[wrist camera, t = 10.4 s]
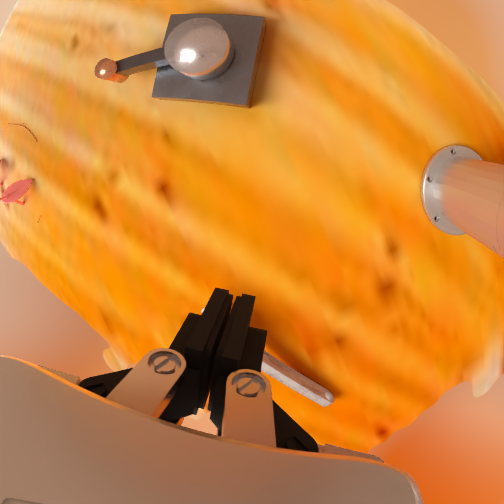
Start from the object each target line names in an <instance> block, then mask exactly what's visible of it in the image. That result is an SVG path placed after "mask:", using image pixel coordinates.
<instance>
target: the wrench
mask: <svg viewBox="0 0 504 504" xmlns="http://www.w3.org/2000/svg"><path fill="white" fill-rule="evenodd" d="M204 309H205V308H204ZM204 309H202V313H203V311H204ZM261 370H262V371H263V372H265V373H266V374H268V375H270V376H271V377H273V378H275V379H276V380H278V381H280V382H281V383H283V384H285V385H286V386H288V387H290V388H292V389H293V390H295V391H297V392H298V393H300V394H302V395H304V396H306V397H307V398H309V399H311V400H313V401H315V402H316V403H318V404H320V405H322V406H324V407H326V406H328V405H330V404H332V403H333V402H334V396H333V394H332V393H331V392H330V391H328V390H327V389H326V388H324V387H322V386H321V385H319V384H317V383H315V382H314V381H312V380H310V379H309V378H307V377H305V376H304V375H302V374H301V373H299V372H297V371H296V370H294V369H293V368H291V367H289V366H288V365H286V364H285V363H283V362H281V361H280V360H278V359H277V358H275V357H274V356H272V355H270V354H269V353H267V352H266V351H265V350H264V354H263V360H262V367H261Z"/></svg>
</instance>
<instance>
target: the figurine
mask: <svg viewBox="0 0 504 504" xmlns="http://www.w3.org/2000/svg"><path fill="white" fill-rule="evenodd" d="M23 124H24V123H23ZM10 126H11V125H10ZM21 126H22V125H21ZM8 127H9V126H8ZM6 128H7V127H6ZM6 128H5V129H6ZM25 128H26V127H25ZM29 131H30V130H29ZM32 135H33V134H32ZM33 136H34V135H33ZM34 138H35V137H34ZM35 140H36V139H35ZM36 141H37V140H36ZM0 162H1V160H0ZM32 181H33V180H32V179H27V180H20V181H17V182H15V183H13V184H12V185H10V186H9V187H8V188H7V189H6V190H5V192H4V193H3V194H2V198H0V200H2V202H3V203H6V204H7V203H11V202H15V203H18V204H21V205H24V203H23V202H21V201H18V199H19V198H21V197H22V196H23V195H24V194H25V193H26V192H27V190H28V187H30V186H29V185H30V184H31V183H32ZM0 186H2V184H1V183H0ZM40 217H41V216H40ZM39 219H40V218H39ZM38 222H39V221H38Z"/></svg>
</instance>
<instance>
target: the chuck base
mask: <svg viewBox="0 0 504 504" xmlns="http://www.w3.org/2000/svg"><path fill="white" fill-rule="evenodd" d="M193 18H209V19H212V20H214V21H216V22H218V23H219V24H220V25H221V26H222V27H223V28H224V30H225V32H226V33H227V35H228V36H229V38H230V39H231V41H232V43H233V46H234V56H233V59H232V61H231V63H230V65H229V66H228V68H227V69H226V70H225V71H224V72H222V73H221V74H220V75H218V76H216V77H214V78H211V79H206V80H197V79H192V78H190V77H188V76H186V75H184V74H183V73H181V72H179V71H177V70H176V69H174V68H173V67H171V66H170V64H169V65H165V66H161V67H158V68H157V73H156V78H155V83H154V88H153V93H152V97H153V98H157V99H161V100H176V101H190V102H201V103H211V104H220V105H228V106H236V107H243V108H250V103H251V98H252V93H253V88H254V83H255V78H256V73H257V68H258V63H259V58H260V53H261V48H262V44H263V39H264V34H265V29H266V23H265V19H264V17H257V16H246V15H230V14H174V15H171V16H170V20H169V23H168V27H167V31H166V35H165V38H164V42H163V47H165V43H166V40H167V38H168V36H169V34H170V33H171V32H172V30H173V29H174V28H175V27H177V26H178V25H179V24H181V23H183V22H185V21H187V20H189V19H193ZM163 47H162V48H163Z"/></svg>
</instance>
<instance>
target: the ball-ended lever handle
mask: <svg viewBox="0 0 504 504" xmlns="http://www.w3.org/2000/svg"><path fill="white" fill-rule="evenodd" d="M233 56H234V46H233V43H232V41H231V39H230V38H229V36H228V35H227V33H226V32H225V30H224V28H223V27H222V26H221V25H220V24H219V23H218V22H216V21H214V20H212V19H209V18H193V19H189V20H187V21H185V22H183V23H181V24H179V25H178V26H177V27H175V28H174V29H173V30H172V32H171V33H170V34H169V36H168V38H167V40H166V43H165V47H163V48H159V49H155V50H152V51H148V52H145V53H141V54H138V55H134V56H131V57H128V58H125V59H122V60H119V61H113V60H110V59H107V58H105V59H102V60H100V61H99V62H98V64H97V65H96V67H95V75H96V76H97V77H98V78H101V79H106V80H110V81H114V82H118V83H122V82H124V81H125V80H126V79H127V78H128V77H129V75H131V74H134V73H138V72H141V71H145V70H149V69H153V68H156V67H161V66H165V65H169V64H170V66H171V67H173V68H174V69H176V70H177V71H179V72H181V73H183V74H184V75H186V76H188V77H190V78H192V79H197V80H206V79H211V78H214V77H216V76H218V75H220V74H221V73H222V72H224V71H225V70H226V69H227V68H228V66H229V65H230V63H231V61H232V59H233Z"/></svg>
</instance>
